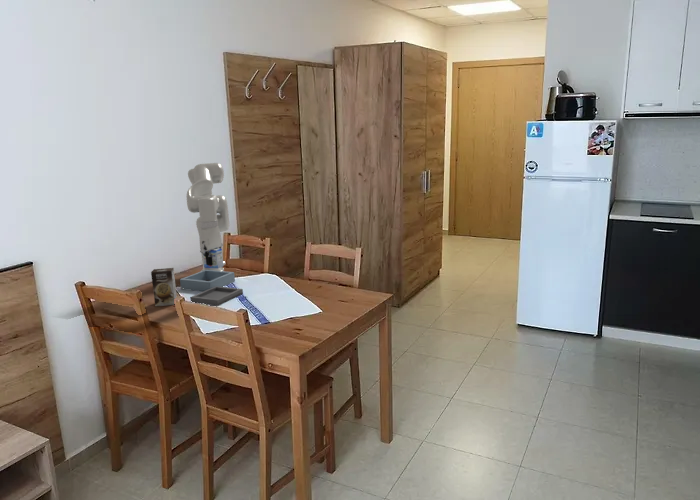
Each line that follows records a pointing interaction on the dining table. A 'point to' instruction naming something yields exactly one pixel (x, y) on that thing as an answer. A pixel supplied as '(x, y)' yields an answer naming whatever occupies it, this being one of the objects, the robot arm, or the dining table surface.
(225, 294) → the tray
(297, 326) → the dining table surface
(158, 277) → the coffee box
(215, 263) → the medicine box
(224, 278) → the deep square frame
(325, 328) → the dining table surface
